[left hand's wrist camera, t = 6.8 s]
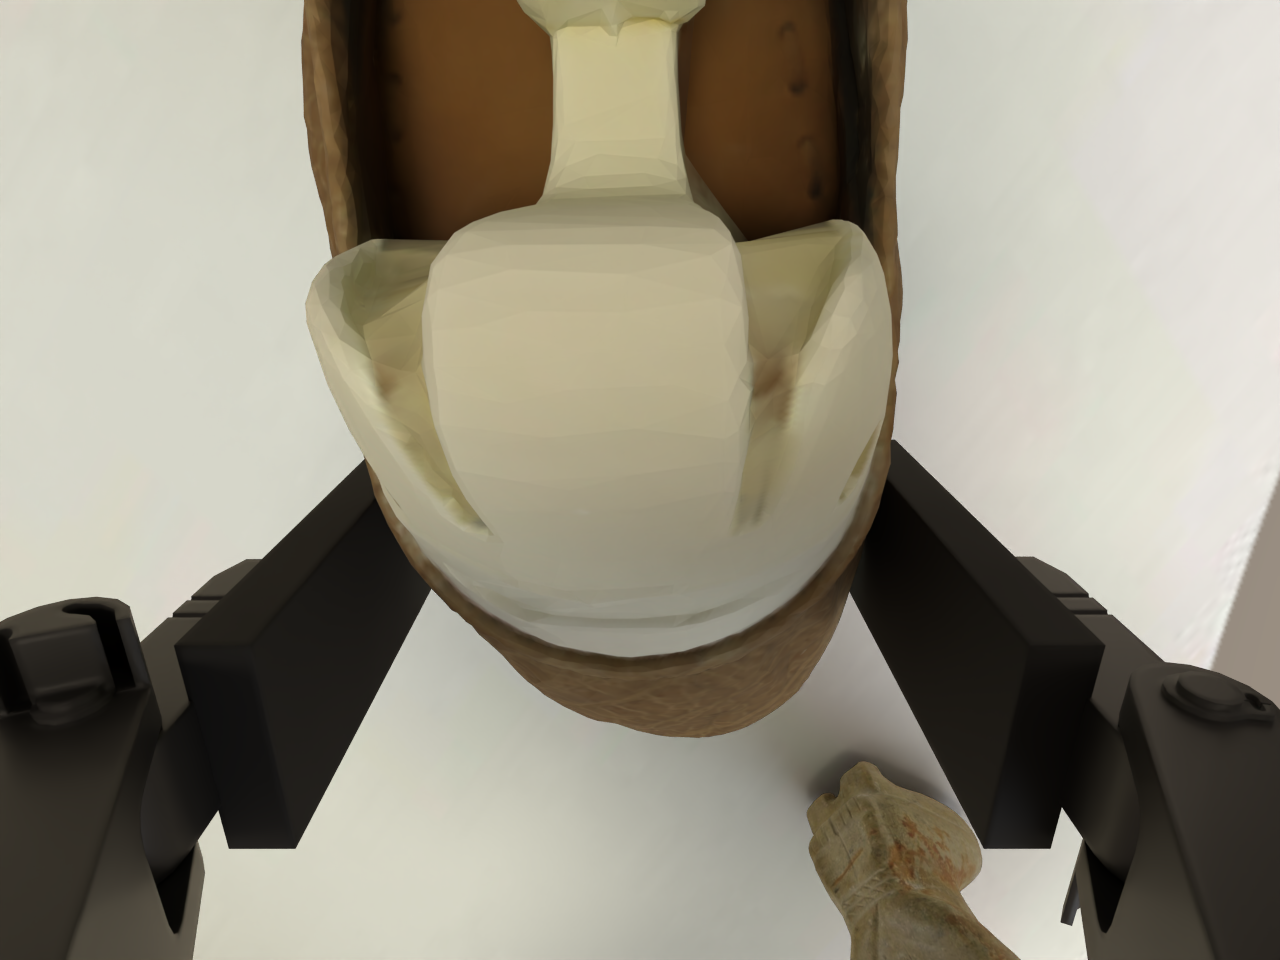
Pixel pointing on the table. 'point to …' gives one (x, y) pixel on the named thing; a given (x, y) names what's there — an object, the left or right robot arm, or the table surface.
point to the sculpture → (899, 871)
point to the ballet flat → (618, 324)
